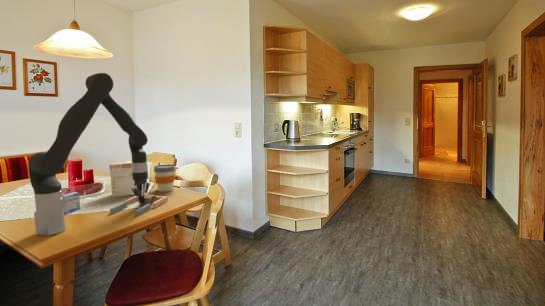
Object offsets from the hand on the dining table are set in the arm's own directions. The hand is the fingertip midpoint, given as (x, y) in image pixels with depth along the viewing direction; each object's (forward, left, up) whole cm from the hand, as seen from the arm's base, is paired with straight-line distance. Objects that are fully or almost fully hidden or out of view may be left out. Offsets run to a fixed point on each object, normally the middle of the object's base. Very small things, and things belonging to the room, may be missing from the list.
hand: (141, 202), depth 165 cm
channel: (-9, 0, -2) cm, 9 cm away
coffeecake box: (+17, +22, -2) cm, 28 cm away
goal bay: (+3, 0, -2) cm, 4 cm away
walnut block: (+5, 0, -2) cm, 5 cm away
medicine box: (-15, +30, -2) cm, 34 cm away
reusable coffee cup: (+32, +5, -2) cm, 33 cm away
